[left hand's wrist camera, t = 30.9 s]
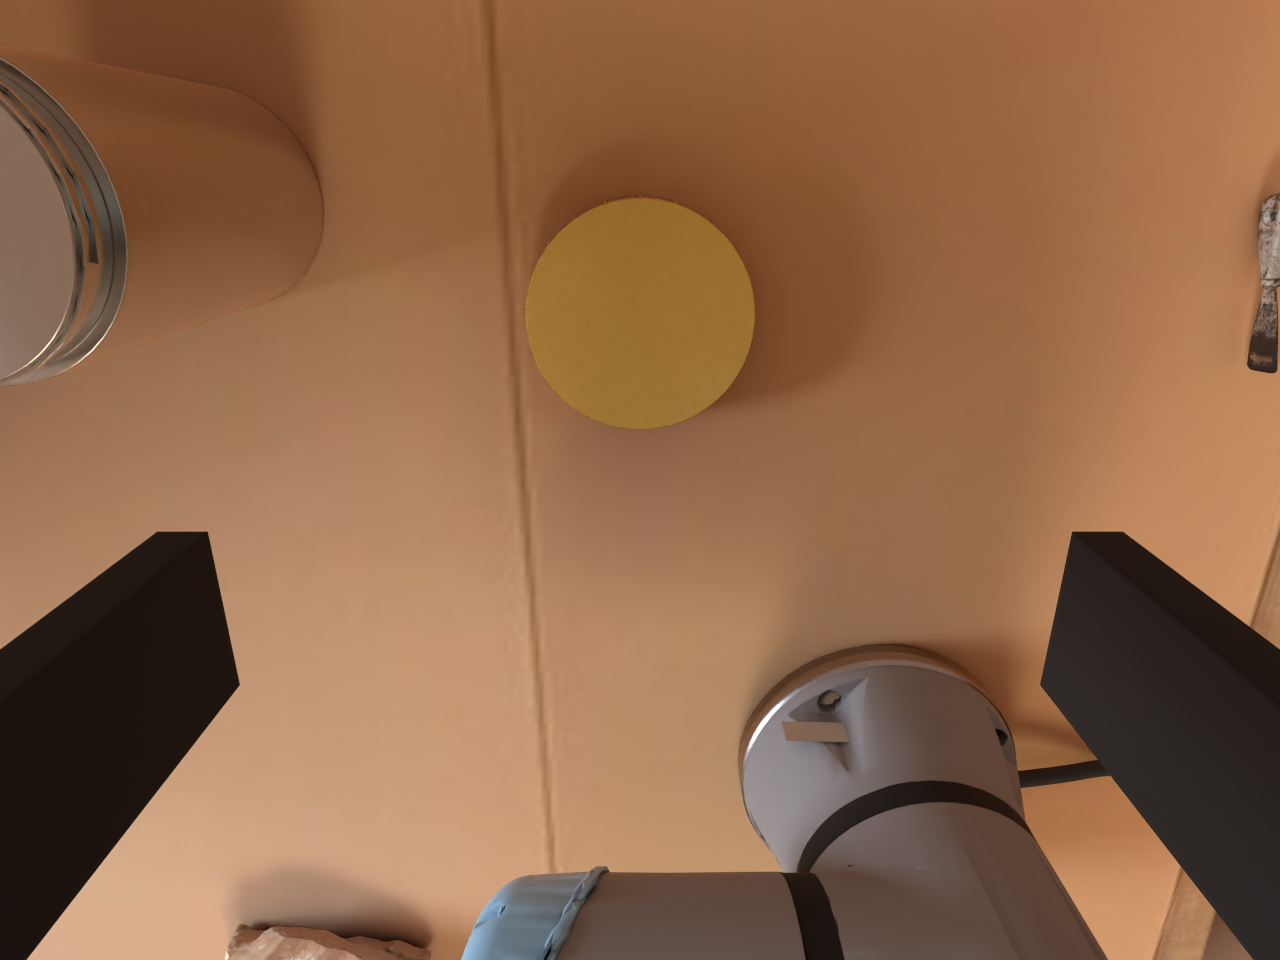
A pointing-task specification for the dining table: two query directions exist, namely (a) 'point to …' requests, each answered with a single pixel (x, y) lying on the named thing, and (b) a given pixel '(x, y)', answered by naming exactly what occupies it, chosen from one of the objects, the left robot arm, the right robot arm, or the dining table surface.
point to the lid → (640, 313)
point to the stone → (314, 946)
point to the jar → (137, 210)
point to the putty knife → (1267, 290)
